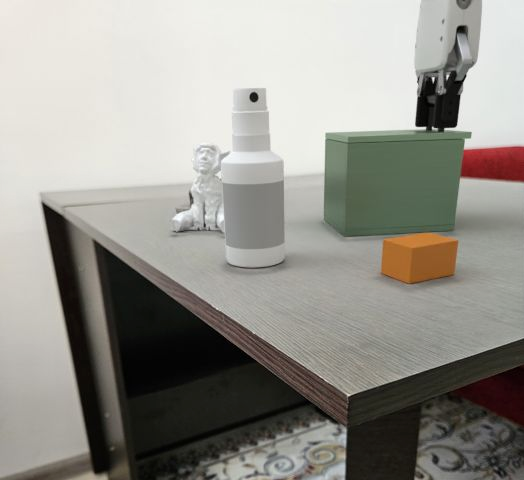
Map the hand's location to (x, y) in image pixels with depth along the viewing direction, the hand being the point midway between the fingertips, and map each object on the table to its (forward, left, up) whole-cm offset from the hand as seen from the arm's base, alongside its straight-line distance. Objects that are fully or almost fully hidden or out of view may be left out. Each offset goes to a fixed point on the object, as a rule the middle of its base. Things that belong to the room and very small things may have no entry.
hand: (435, 125), depth 72 cm
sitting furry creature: (+32, -5, -13) cm, 35 cm away
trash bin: (+6, 0, -13) cm, 15 cm away
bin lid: (+6, 0, -1) cm, 6 cm away
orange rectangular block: (+11, +25, -13) cm, 30 cm away
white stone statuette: (+29, -20, -13) cm, 38 cm away
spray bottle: (+27, +16, -13) cm, 34 cm away
